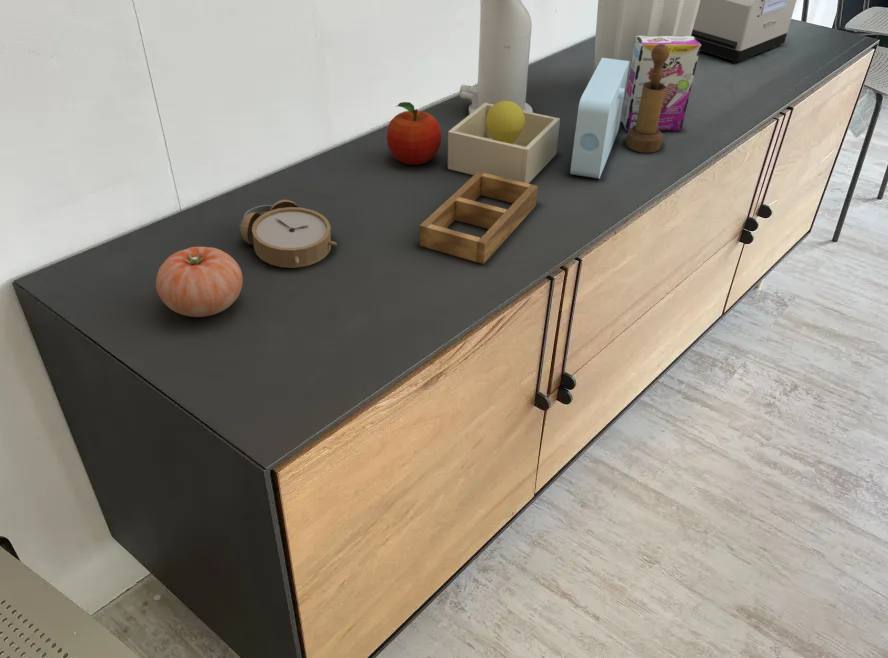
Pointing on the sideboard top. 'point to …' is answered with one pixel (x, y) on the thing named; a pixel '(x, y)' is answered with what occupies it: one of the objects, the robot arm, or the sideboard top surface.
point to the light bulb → (505, 121)
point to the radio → (599, 117)
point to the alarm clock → (287, 234)
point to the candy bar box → (674, 78)
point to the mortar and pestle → (650, 107)
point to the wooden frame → (478, 217)
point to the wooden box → (502, 147)
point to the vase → (639, 24)
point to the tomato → (199, 281)
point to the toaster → (741, 26)
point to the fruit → (413, 136)
